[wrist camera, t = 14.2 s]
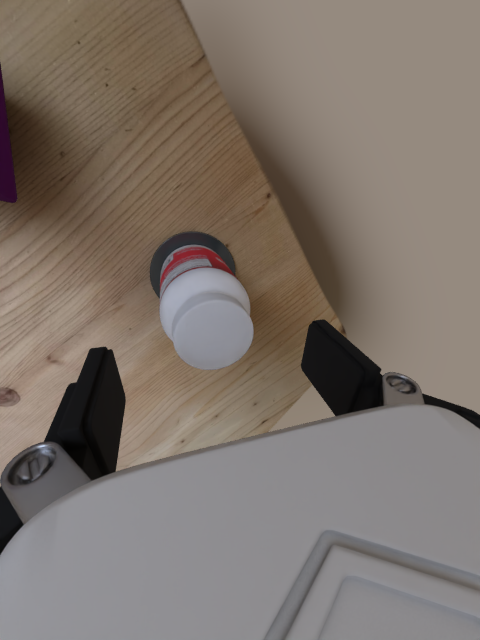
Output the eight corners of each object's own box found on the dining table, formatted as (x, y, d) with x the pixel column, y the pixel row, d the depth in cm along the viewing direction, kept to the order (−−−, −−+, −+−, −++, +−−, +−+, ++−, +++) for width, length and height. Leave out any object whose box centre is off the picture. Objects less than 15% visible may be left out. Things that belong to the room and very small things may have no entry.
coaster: (143, 231, 21) (143, 232, 20) (235, 230, 23) (236, 231, 22) (156, 315, 25) (156, 317, 24) (233, 308, 27) (234, 309, 26)
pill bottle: (231, 296, 25) (271, 362, 16) (172, 312, 25) (178, 392, 15) (218, 235, 22) (258, 274, 13) (150, 251, 21) (140, 305, 12)
